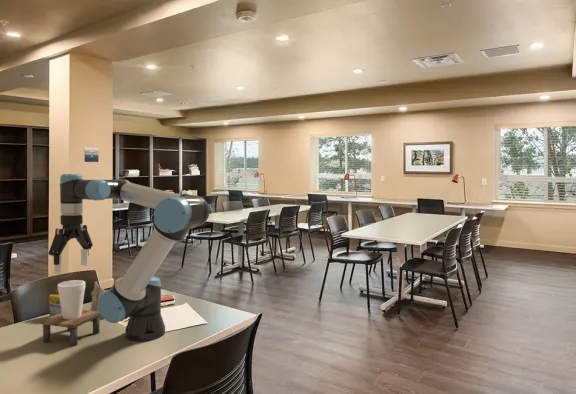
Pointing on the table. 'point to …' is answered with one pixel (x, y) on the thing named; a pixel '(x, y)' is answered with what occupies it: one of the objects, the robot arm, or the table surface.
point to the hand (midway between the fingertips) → (72, 269)
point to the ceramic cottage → (96, 298)
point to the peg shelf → (70, 324)
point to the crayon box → (54, 303)
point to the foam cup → (71, 298)
